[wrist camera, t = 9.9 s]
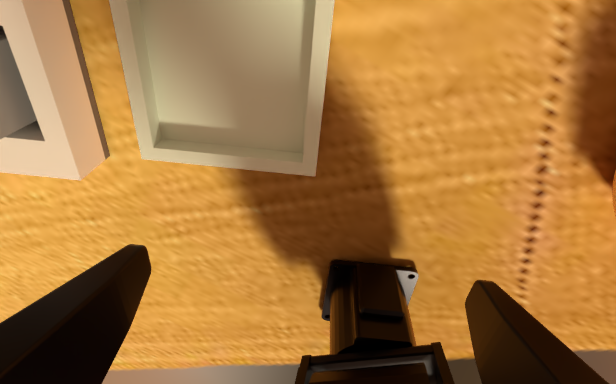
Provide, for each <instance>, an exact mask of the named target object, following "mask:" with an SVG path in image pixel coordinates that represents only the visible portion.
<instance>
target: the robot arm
mask: <svg viewBox="0 0 616 384" xmlns="http://www.w3.org/2000/svg"><path fill="white" fill-rule="evenodd" d="M335 266H337V267H335ZM150 274H151V264H150V260H149V255H148V251H147V248H146V247H145V246H143V245H135V244H130V245H127V246H125V247H124V248H122V249H121V250H119V251H117V252H116V253H114V254H112V255H111V256H109V257H107V258H106V259H104V260H103V261H101V262H99V263H98V264H96V265H94V266H93V267H91V268H89V269H88V270H86V271H85V272H83V273H81V274H80V275H78V276H76V277H75V278H73V279H71V280H70V281H68V282H67V283H65V284H63V285H62V286H60V287H58V288H57V289H55V290H54V291H52V292H50V293H49V294H47V295H45V296H44V297H42V298H40V299H39V300H37V301H36V302H34V303H32V304H31V305H29V306H27V307H26V308H24V309H22V310H21V311H19V312H18V313H16V314H14V315H13V316H11V317H9V318H8V319H6V320H5V321H3V322H1V323H0V384H102V382H103V380H104V378H105V376H106V374H107V372H108V370H109V368H110V366H111V364H112V362H113V360H114V358H115V357H116V355H117V353H118V351H119V349H120V347H121V345H122V343H123V341H124V339H125V337H126V335H127V333H128V331H129V329H130V327H131V324H132V322H133V319H134V317H135V314H136V311H137V309H138V306H139V304H140V301H141V298H142V296H143V293H144V290H145V288H146V285H147V282H148V280H149V277H150ZM410 274H412V275H410ZM417 280H418V272H417V270H416V269H415V268H410V267H400V266H390V265H380V264H371V263H361V262H351V261H341V260H334V261H331V262H330V264H329V270H328V277H327V283H326V289H325V295H324V301H323V308H322V318H323V319H324V320H327V321H330V354H329V355H319V356H311V355H304V356H302V359H301V364H300V367H299V368H298V372H297V376H296V381H295V384H454V381H453V378H452V375H451V372H450V369H449V366H448V363H447V360H446V358H445V355H444V352H443V349H442V346H441V343H440V342H435V343H431V345H421V346H416V342H415V337H414V333H413V328H412V324H411V319H410V314H409V310H408V304H409V301H410V298H411V296H412V293H413V290H414V288H415V285H416V282H417ZM465 308H466V314H467V319H468V324H469V330H470V335H471V340H472V345H473V351H474V356H475V360H476V364H477V368H478V372H479V375H480V378H481V381H482V384H609V383H608V382H607V381H605V380H604V379H603V378H602V377H601V376H600V375H599V374H597V373H596V372H595V371H594V370H593V369H592V368H591V367H589V366H588V365H587V364H586V363H585V362H584V361H583V360H582V359H581V358H579V357H578V356H577V355H576V354H575V353H574V352H573V351H571V350H570V349H569V348H568V347H567V346H566V345H565V344H564V343H562V342H561V341H560V340H559V339H558V338H557V337H556V336H554V335H553V334H552V333H551V332H550V331H549V330H548V329H547V328H545V327H544V326H543V325H542V324H541V323H540V322H539V321H538V320H536V319H535V318H534V317H533V316H532V315H531V314H530V313H528V312H527V311H526V310H525V309H524V308H523V307H522V306H521V305H519V304H518V303H517V302H516V301H515V300H514V299H513V298H511V297H510V296H509V295H508V294H507V293H506V292H505V291H504V290H502V289H501V288H500V287H499V286H498V285H497V284H496V283H494V282H492V281H486V280H477V281H475V283H474V284H473V286H472V288H471V290H470V292H469V294H468V296H467V298H466V302H465Z"/></svg>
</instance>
